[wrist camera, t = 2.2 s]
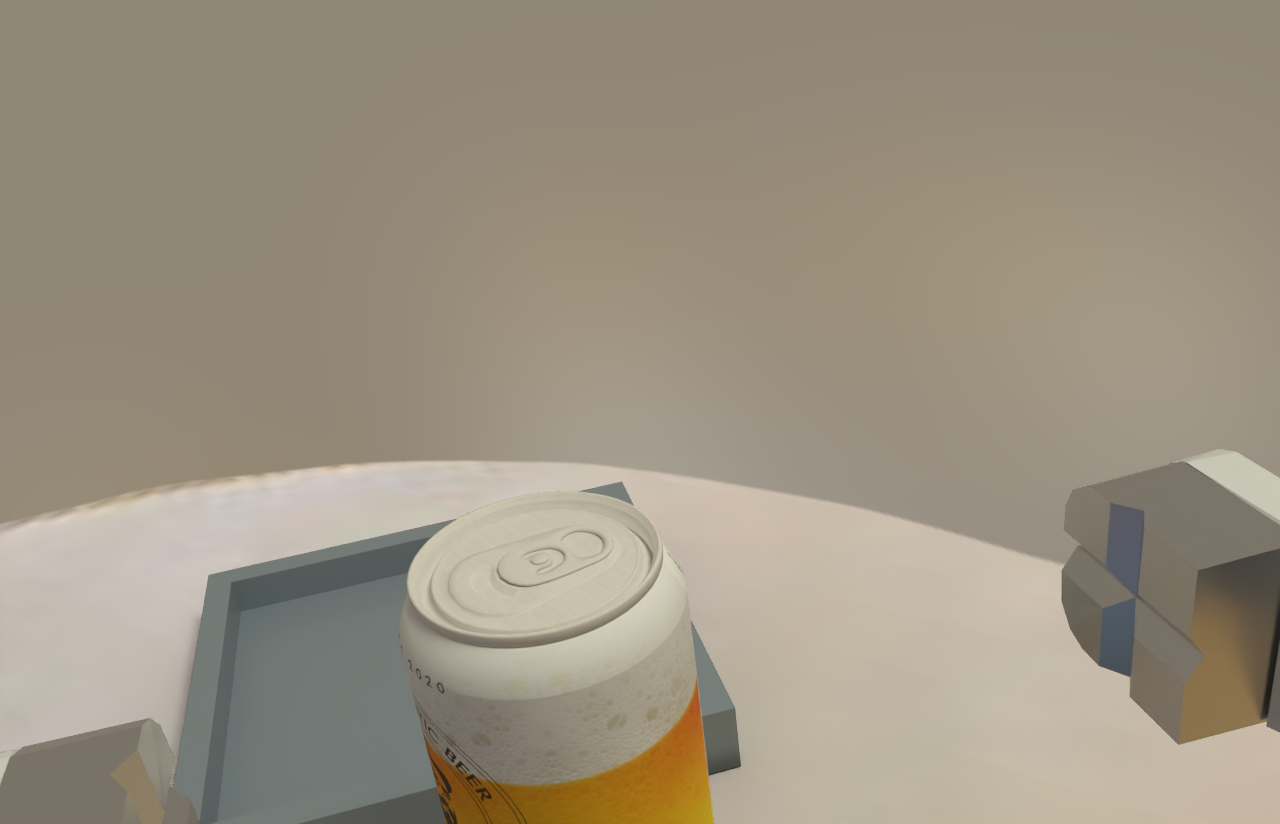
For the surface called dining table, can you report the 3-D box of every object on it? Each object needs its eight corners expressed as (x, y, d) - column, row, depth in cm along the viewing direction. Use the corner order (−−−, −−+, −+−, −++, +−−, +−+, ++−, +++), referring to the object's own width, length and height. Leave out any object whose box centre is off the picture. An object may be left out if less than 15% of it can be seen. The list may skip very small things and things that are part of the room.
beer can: (472, 1005, 31) (349, 546, 25) (661, 898, 34) (595, 454, 27) (572, 1201, 27) (451, 694, 20) (784, 1059, 29) (739, 567, 22)
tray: (185, 918, 35) (160, 860, 34) (224, 623, 49) (208, 575, 48) (740, 765, 38) (735, 707, 37) (628, 528, 52) (621, 481, 51)
